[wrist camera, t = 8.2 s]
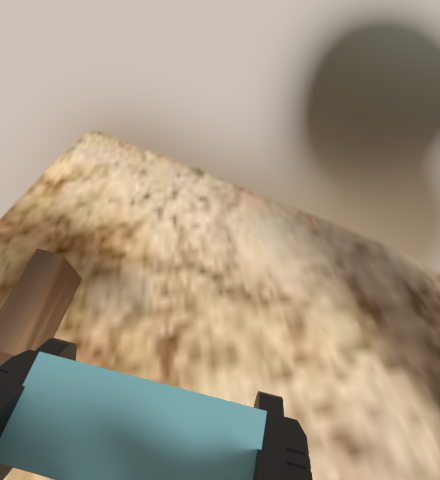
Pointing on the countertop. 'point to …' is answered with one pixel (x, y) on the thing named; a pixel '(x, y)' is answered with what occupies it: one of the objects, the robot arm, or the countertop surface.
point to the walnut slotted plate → (36, 304)
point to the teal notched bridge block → (125, 428)
